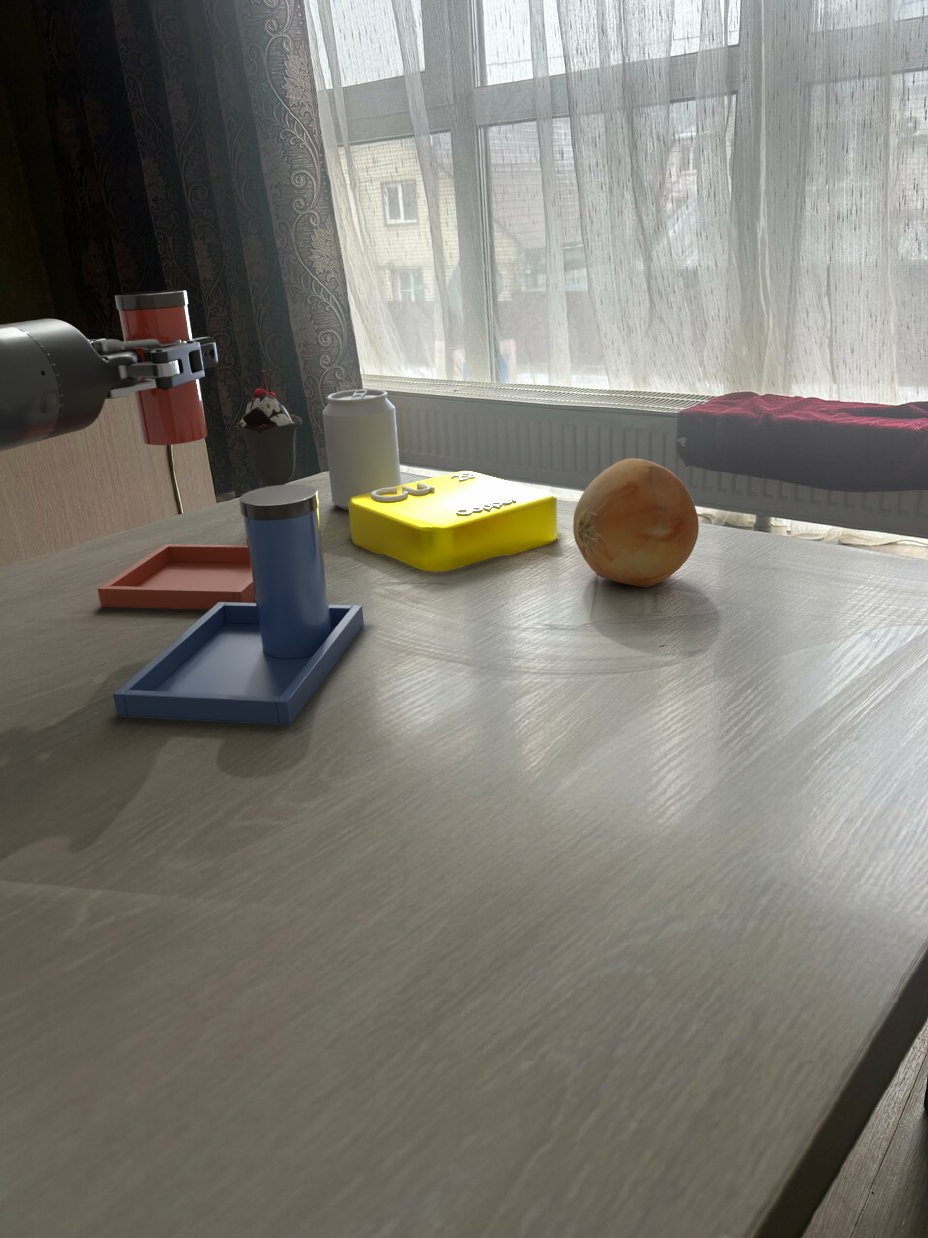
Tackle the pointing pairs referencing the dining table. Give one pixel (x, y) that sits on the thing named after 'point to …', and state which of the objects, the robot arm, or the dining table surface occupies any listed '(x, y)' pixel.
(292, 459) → the sundae
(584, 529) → the onion
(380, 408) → the can
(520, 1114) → the dining table surface
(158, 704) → the blue tray
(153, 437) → the red jar
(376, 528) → the element tile
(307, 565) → the blue jar
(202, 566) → the red tray
